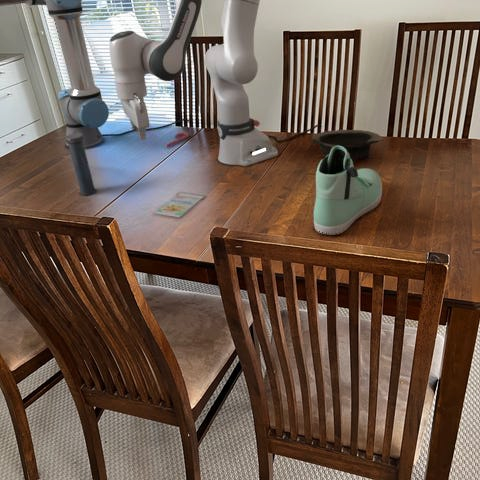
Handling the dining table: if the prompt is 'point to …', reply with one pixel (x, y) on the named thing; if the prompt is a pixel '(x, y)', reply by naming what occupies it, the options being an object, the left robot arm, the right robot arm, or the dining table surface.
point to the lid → (74, 138)
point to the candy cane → (185, 135)
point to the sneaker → (343, 192)
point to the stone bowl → (347, 142)
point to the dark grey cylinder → (82, 168)
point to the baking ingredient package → (179, 204)
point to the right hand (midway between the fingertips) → (139, 134)
